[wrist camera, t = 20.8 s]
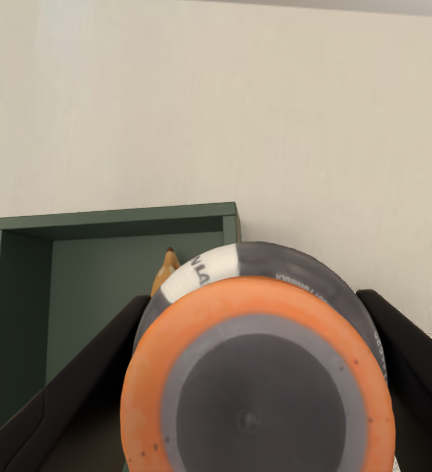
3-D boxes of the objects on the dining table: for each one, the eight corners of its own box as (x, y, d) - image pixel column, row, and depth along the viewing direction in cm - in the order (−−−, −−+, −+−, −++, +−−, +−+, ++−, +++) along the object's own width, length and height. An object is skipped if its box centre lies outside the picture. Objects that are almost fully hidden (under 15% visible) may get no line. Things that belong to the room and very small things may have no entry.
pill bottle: (186, 276, 16) (33, 252, 5) (299, 253, 16) (405, 167, 5) (207, 397, 15) (73, 704, 4) (330, 376, 14) (572, 665, 3)
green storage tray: (256, 551, 20) (256, 654, 14) (31, 536, 22) (-45, 622, 16) (240, 221, 23) (235, 201, 18) (49, 233, 25) (-9, 218, 20)
